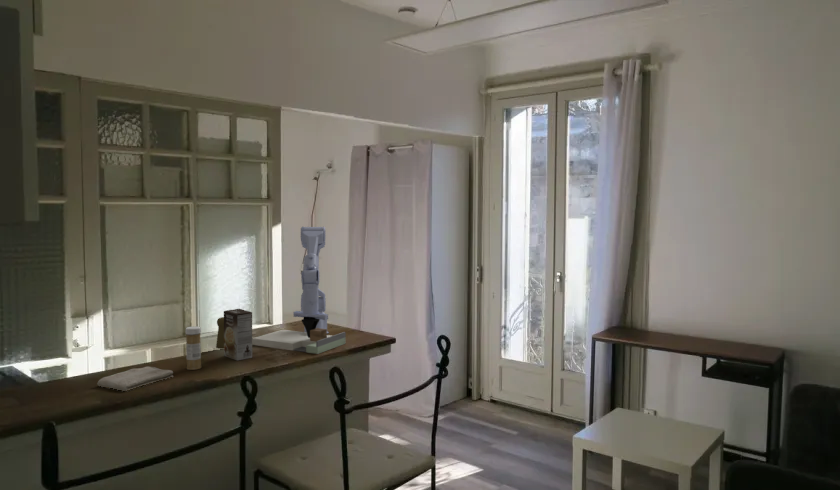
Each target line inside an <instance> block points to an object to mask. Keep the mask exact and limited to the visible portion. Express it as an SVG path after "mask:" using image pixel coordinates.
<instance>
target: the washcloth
mask: <svg viewBox="0 0 840 490" xmlns="http://www.w3.org/2000/svg"><path fill="white" fill-rule="evenodd" d="M173 374H174V372H173V370H171V369H160V368H158V367H155V366H144V367H138V368H131V369H128V370H126V371H121V372H118V373H115V374H112V375H108V376H103V377H102V378H100V379H99V380H98V381H97V383H96V385H97V386H99V387H100V386H101V387H100V388H103V387H109V388H108V389H110V388H113V389H112V390H114V389H117V390H116V391H118V390H122V391H121V392H123V391H127V390H130V389H133V388H136V387H139V386H142V385H146V384H149V383H152V384H154V383H153V382H156V381H159V380H162V381H164V380H163V379H165V380H168V379H167V378H169V379H171V378H170V377H172V378H174V375H173ZM159 382H160V381H159ZM156 383H157V382H156ZM149 385H150V384H149ZM146 386H147V385H146ZM139 388H140V387H139ZM133 390H134V389H133ZM130 391H131V390H130ZM127 392H128V391H127Z"/></svg>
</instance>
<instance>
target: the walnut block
mask: <svg viewBox="0 0 840 490" xmlns="http://www.w3.org/2000/svg"><path fill="white" fill-rule="evenodd" d="M327 332H328V328H327V329H321V328H316V329H312V330H310V341H315V342H316V341H319V340H322V339H324V338H327V335H328V333H327Z"/></svg>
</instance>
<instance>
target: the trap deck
mask: <svg viewBox="0 0 840 490" xmlns="http://www.w3.org/2000/svg"><path fill="white" fill-rule="evenodd" d="M346 332H347V331H346ZM346 332H345V331H343V332H340V333H337V334H334V335H332V334H331V335H330V334H327V338H324V339H322V340H319V341H316V342H315V341H310V338H308V336H307V332H304V331H298V330H297V331H296V330H289V329H280V330H275V331H274V332H269V333H265V334H263V335H259V336H256V337H252V346H259V347H265V348H272V349H280V350H287V351H293V352H303V353H308V354H316V355H319V354H322V353H324V352H326V351H330V350H332V349H334V348H338V347H341V346H343V345H345V344H346V342H347V341H346V336H347V335H346Z"/></svg>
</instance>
